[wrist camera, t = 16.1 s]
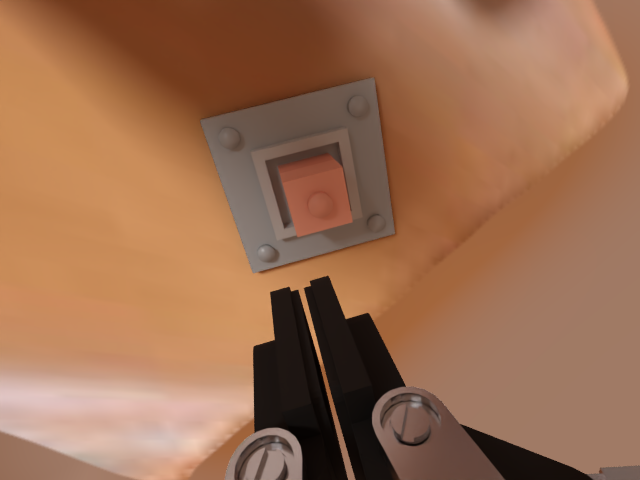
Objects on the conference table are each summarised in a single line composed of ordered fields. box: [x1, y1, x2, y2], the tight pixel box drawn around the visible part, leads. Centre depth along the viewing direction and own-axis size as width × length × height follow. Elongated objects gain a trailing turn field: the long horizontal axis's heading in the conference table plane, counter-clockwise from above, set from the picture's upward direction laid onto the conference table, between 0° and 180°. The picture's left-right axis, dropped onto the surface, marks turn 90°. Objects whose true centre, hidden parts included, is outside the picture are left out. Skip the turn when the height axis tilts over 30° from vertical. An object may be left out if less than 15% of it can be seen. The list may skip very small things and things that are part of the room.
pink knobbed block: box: [278, 153, 353, 237], centre depth 33 cm, size 5×5×7 cm
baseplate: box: [200, 78, 395, 273], centre depth 36 cm, size 16×16×2 cm
